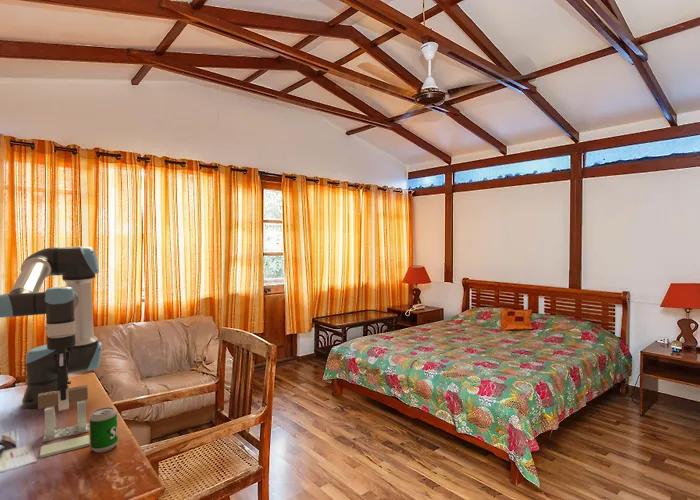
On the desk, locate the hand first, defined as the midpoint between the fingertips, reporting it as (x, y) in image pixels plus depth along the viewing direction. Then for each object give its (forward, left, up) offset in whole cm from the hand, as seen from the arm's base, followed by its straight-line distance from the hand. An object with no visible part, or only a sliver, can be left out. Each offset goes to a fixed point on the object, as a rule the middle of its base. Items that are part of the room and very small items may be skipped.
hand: (64, 407), depth 131 cm
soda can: (+8, +11, -13) cm, 19 cm away
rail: (0, 0, +1) cm, 1 cm away
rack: (-12, 0, -13) cm, 18 cm away
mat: (0, 0, -13) cm, 13 cm away
